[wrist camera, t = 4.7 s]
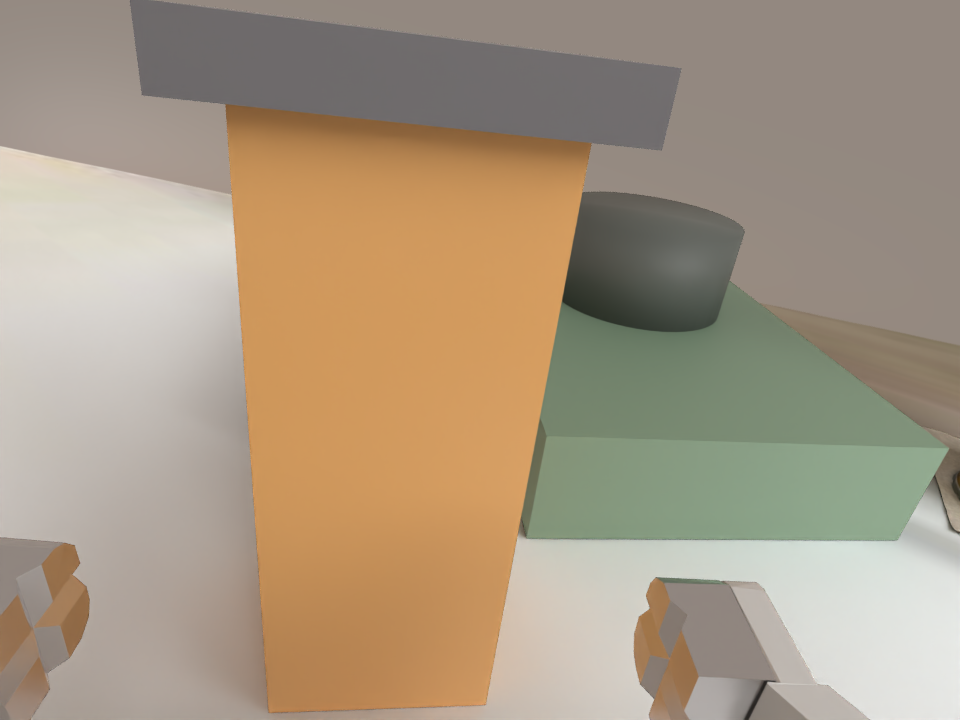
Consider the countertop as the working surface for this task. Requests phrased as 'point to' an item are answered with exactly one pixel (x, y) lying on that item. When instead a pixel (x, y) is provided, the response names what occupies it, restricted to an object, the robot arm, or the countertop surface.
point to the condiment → (949, 475)
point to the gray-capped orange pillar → (393, 320)
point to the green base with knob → (703, 401)
